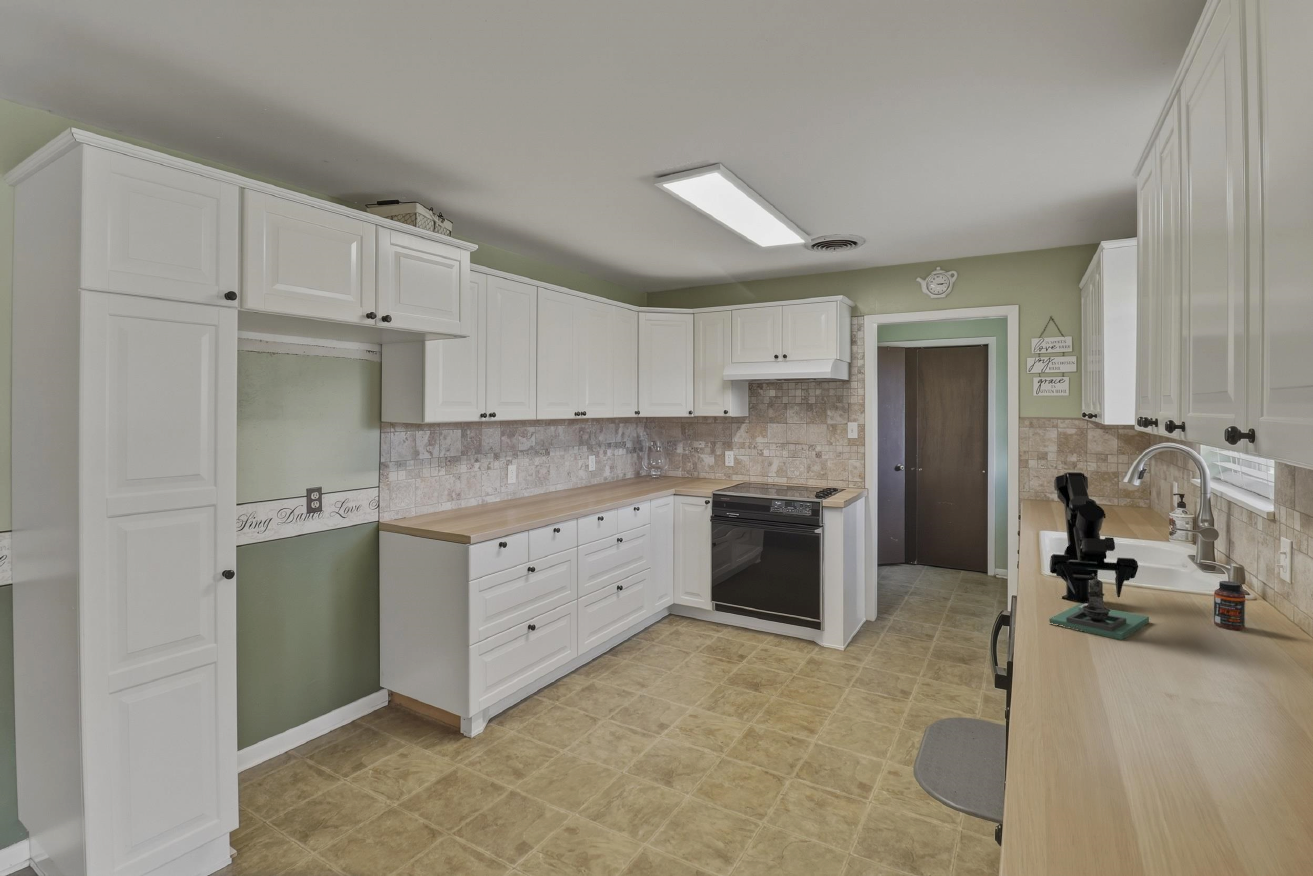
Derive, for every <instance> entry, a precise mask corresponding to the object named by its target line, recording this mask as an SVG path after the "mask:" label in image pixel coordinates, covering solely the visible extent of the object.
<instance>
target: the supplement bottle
mask: <svg viewBox="0 0 1313 876" xmlns="http://www.w3.org/2000/svg"><path fill="white" fill-rule="evenodd" d="M1213 623H1214V625H1215V626H1216V627H1219V628H1222V629H1225V628H1226V629H1225V630H1231V629H1234V630H1235V631H1240V630H1241V629H1242V630H1244V629H1245V628H1246V594H1245V593H1244V592H1243V591H1241V584H1240V583H1239V582H1236V581H1230V580H1220V581H1219V583H1218V588H1216V589H1215V590H1214V592H1213ZM1234 630H1233V631H1234Z"/></svg>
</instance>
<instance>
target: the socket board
mask: <svg viewBox="0 0 1313 876" xmlns="http://www.w3.org/2000/svg"><path fill="white" fill-rule="evenodd" d="M1085 605H1088V602H1087V603H1084V604H1083V603H1078V604H1076V605H1074V606H1071V608H1068V609H1066V610H1064V611H1062V612H1060V613H1058V614H1056V615H1054V616H1052V617H1050V618H1049V621H1048V622H1050V623H1053V624H1058V625H1063V626H1065V627H1070V628H1074V629H1078V630H1082V631H1086V632H1085V633H1087V632H1090V633H1089V634H1092V633H1094V634H1093V635H1096V634H1098V635H1097V636H1101V635H1102V636H1101V637H1106V638H1110V639H1115V640H1121V641H1122V640H1124V639H1125V638H1127V637H1129V636H1131V635H1132V634H1133V633H1134V632H1136V631H1138V630H1140V629H1141V628H1142V627H1144V626H1145V625H1147V624H1149V623H1150V616H1147V615H1143V614H1136V613H1131V612H1126V611H1123V610H1122V611H1121V610H1116V609H1112V608H1111V609H1110V608H1109V609H1110V612H1109V615H1108V617H1107V618H1105V619H1103V620H1105V621H1107V622H1108V623H1109V625H1106V624H1101V623H1096V622H1091V621H1086V620H1085V619H1087V618H1089V617H1088V616H1087V615H1086V614H1085V612H1084V609H1083V608H1082V607H1083V606H1085ZM1078 630H1077V631H1078ZM1082 631H1081V632H1082ZM1131 633H1132V634H1131ZM1128 635H1129V636H1128Z"/></svg>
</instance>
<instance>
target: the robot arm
mask: <svg viewBox="0 0 1313 876" xmlns="http://www.w3.org/2000/svg"><path fill="white" fill-rule="evenodd" d="M1088 479H1089V478H1088V476H1086V475H1085V473H1084V472H1075V471H1074V472H1072V471H1069V472H1064V473H1063V474H1060V475H1058V476H1055V478H1054V481H1053V487H1054V488H1053V489H1054V491H1056V495H1057V498H1058V499H1059V501H1060V502H1061V503H1062V504H1063V507H1064V508H1063V509H1064V516H1065V526H1066V536H1067V547H1065V549H1064V552H1063V554H1058V553H1053V554H1051V556H1050V560H1049V572H1050V573H1051V574H1055V575H1056V576H1057V577H1060V578H1061V579H1062V580H1063V581H1064V582H1065V585H1066V587H1065V589H1066V590H1065V593H1066V594H1064V595H1062V596H1061V599H1062V600H1063V599H1064V600H1068V601H1074V602H1080V603H1084V602H1085V603H1087V604H1088V603H1089V594H1088V592H1090V588H1089V582H1090V580H1092V579H1095V576H1097V577H1098V573H1099V571H1108V572H1109V571H1111V572H1114V574H1115V578H1114V579H1115V592H1116V595H1117V598H1120V597H1121V593H1122V589H1123V585H1124V582H1126V581H1127V582H1128V581H1130V579H1135V578H1136V575H1137V572H1138V569H1139V563H1138V561H1137V560H1136V559H1135V558H1132V557H1117V559H1116V562H1109V561H1107V562H1106V560H1107V552H1114V551H1115V549H1116V543H1115V539H1114V537H1104V538H1101V534H1100V532H1101V530H1102V529H1103V528H1102V527H1103V523H1104V519H1106V512H1105V509H1103V508H1102V507H1101V506H1100V505H1099V504H1097V502H1096V500H1093V498H1092V499H1091V497H1090V496H1089V493H1088V490H1089V480H1088ZM1097 579H1098V580H1099V578H1097ZM1085 603H1084V604H1085Z"/></svg>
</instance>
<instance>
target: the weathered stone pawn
mask: <svg viewBox="0 0 1313 876" xmlns="http://www.w3.org/2000/svg"><path fill="white" fill-rule="evenodd" d="M1097 578H1098V577H1097V576H1095V579H1092V580H1089V592H1088V594H1089V602H1087V604H1088V605H1085V606H1083V607H1082V608H1083V609H1084V612H1085V614H1086V615H1087V616H1088V617H1089V618H1087V619H1085V620H1086V621H1091V622H1096V623H1101V624H1106V625H1109V623H1108V622H1107V621H1105V620H1103V619H1105V618H1107V617H1108V615H1109V612H1110V608H1108V607H1106V606H1105V604H1104V596H1105V594H1104V591H1103V589H1104V588H1103V587H1104V586H1103V585H1104V583H1103V582H1102V580H1100V579H1099V578H1098V579H1097Z"/></svg>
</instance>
